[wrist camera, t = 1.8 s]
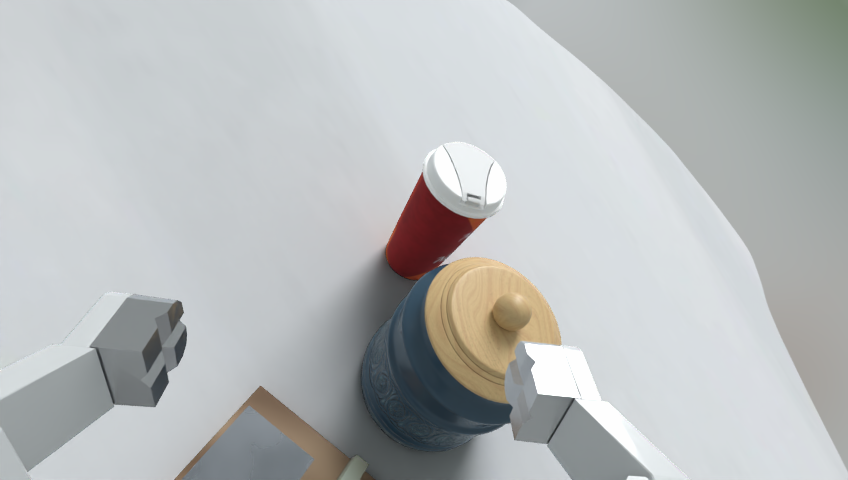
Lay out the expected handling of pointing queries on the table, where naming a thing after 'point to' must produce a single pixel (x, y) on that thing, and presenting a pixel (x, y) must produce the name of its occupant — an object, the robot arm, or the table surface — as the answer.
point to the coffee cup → (445, 207)
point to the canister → (452, 353)
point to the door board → (297, 442)
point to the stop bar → (251, 453)
